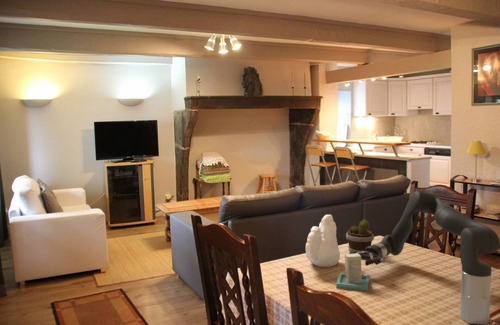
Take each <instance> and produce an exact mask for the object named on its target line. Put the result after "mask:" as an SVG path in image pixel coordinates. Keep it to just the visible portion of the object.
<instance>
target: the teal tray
mask: <svg viewBox="0 0 500 325" xmlns="http://www.w3.org/2000/svg"><path fill="white" fill-rule="evenodd" d="M361 282H362V283H356V284H348V283H347V282H346V281H345V272H344V273H343V272H339V274H338V276H337V279H336V284H335V285H336V286H335V288H336V289H344V290H351V291H358V292H359V291H360V292H361V291H362V292H369V284H370V275H365V274H364V275H363V274H361Z"/></svg>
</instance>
